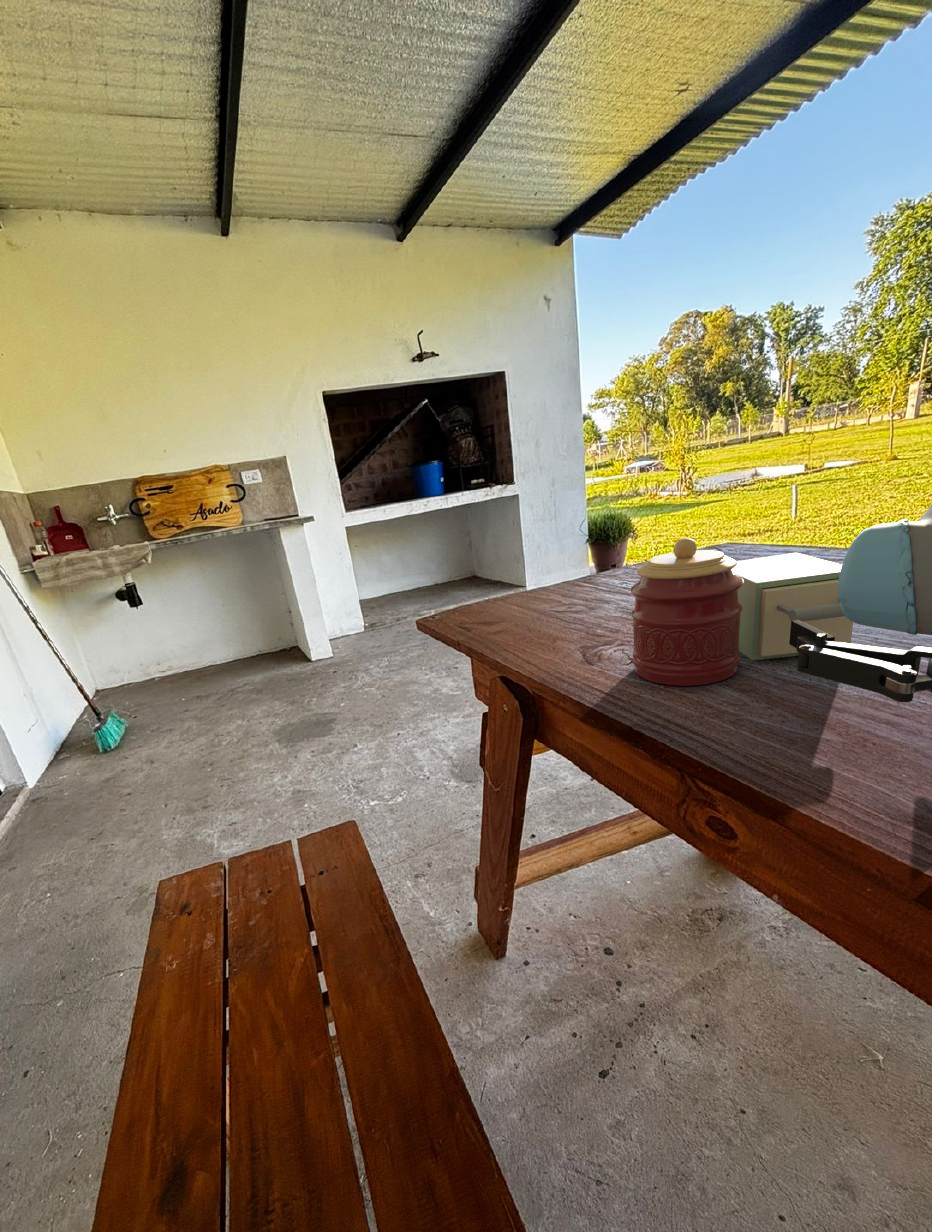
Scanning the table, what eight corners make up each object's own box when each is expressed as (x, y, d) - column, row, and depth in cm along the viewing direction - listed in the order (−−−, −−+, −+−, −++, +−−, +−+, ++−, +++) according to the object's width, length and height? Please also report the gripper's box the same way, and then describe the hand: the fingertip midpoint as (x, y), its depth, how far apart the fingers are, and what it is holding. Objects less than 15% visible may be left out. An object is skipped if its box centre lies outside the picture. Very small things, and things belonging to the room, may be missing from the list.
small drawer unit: (849, 650, 68) (859, 569, 65) (752, 660, 70) (756, 583, 67) (790, 620, 82) (796, 552, 78) (710, 630, 84) (712, 564, 80)
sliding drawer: (876, 659, 62) (887, 587, 59) (780, 670, 64) (786, 600, 61) (794, 619, 79) (799, 561, 76) (720, 628, 81) (722, 572, 78)
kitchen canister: (761, 665, 69) (770, 527, 62) (694, 696, 64) (697, 550, 58) (675, 647, 80) (675, 528, 74) (612, 672, 75) (607, 548, 69)
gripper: (854, 766, 40) (736, 670, 60) (1268, 735, 36) (993, 642, 55) (867, 675, 38) (739, 606, 57) (1316, 629, 33) (1009, 571, 52)
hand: (863, 623), depth 56 cm, fingers open, 13 cm apart
